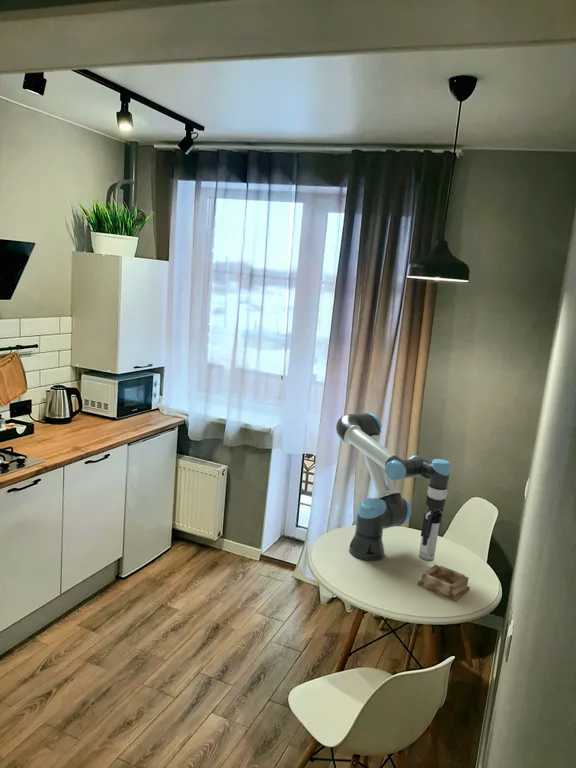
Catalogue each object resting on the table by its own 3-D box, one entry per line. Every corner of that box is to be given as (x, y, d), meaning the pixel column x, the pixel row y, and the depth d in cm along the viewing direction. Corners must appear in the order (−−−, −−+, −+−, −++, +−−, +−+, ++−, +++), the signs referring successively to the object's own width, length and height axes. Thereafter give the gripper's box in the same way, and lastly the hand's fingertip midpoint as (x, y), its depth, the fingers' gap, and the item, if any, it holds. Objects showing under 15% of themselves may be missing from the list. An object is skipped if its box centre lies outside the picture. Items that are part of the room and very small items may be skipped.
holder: (417, 585, 224) (418, 573, 223) (432, 574, 235) (434, 562, 234) (455, 601, 214) (457, 589, 213) (470, 589, 225) (472, 577, 224)
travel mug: (434, 563, 235) (442, 517, 232) (418, 560, 236) (426, 514, 233) (434, 556, 241) (441, 511, 238) (418, 553, 242) (425, 509, 239)
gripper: (434, 504, 225) (425, 559, 228) (454, 495, 240) (445, 546, 243) (417, 498, 229) (409, 552, 233) (437, 489, 244) (429, 540, 248)
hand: (427, 549), depth 238 cm, fingers closed on travel mug, 6 cm apart
